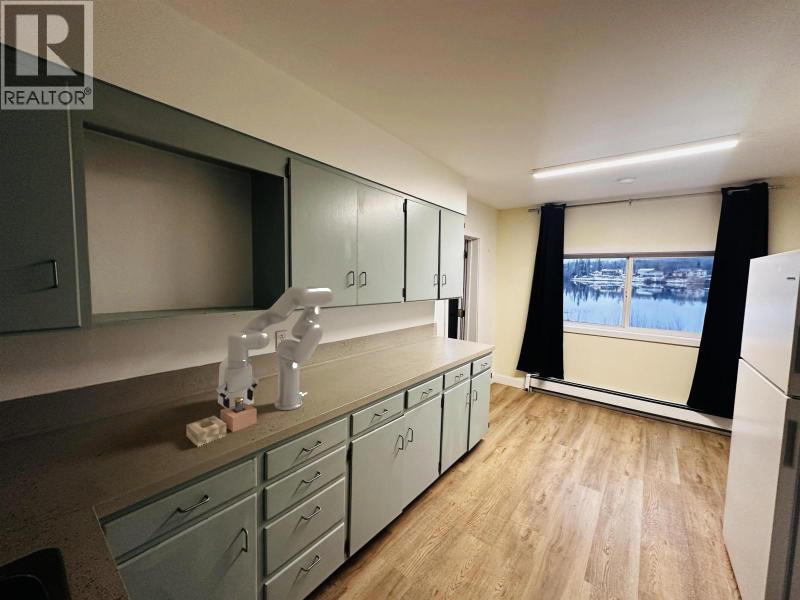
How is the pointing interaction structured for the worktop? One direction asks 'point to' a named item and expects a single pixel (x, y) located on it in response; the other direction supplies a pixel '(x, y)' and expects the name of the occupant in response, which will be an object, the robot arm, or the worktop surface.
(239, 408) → the pin
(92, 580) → the worktop surface
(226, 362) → the milk
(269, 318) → the robot arm
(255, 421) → the dock
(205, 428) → the mount
